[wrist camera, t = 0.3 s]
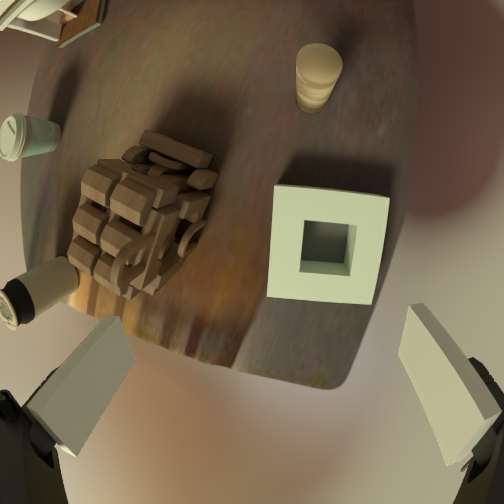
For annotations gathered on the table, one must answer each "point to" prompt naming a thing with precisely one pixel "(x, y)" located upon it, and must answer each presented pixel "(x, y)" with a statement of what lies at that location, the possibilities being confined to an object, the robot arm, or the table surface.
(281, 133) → the table surface
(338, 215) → the socket block
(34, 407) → the robot arm
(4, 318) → the travel mug
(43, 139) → the coffee cup
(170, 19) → the table surface
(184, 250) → the wooden puzzle
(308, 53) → the dowel
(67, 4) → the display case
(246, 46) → the table surface
